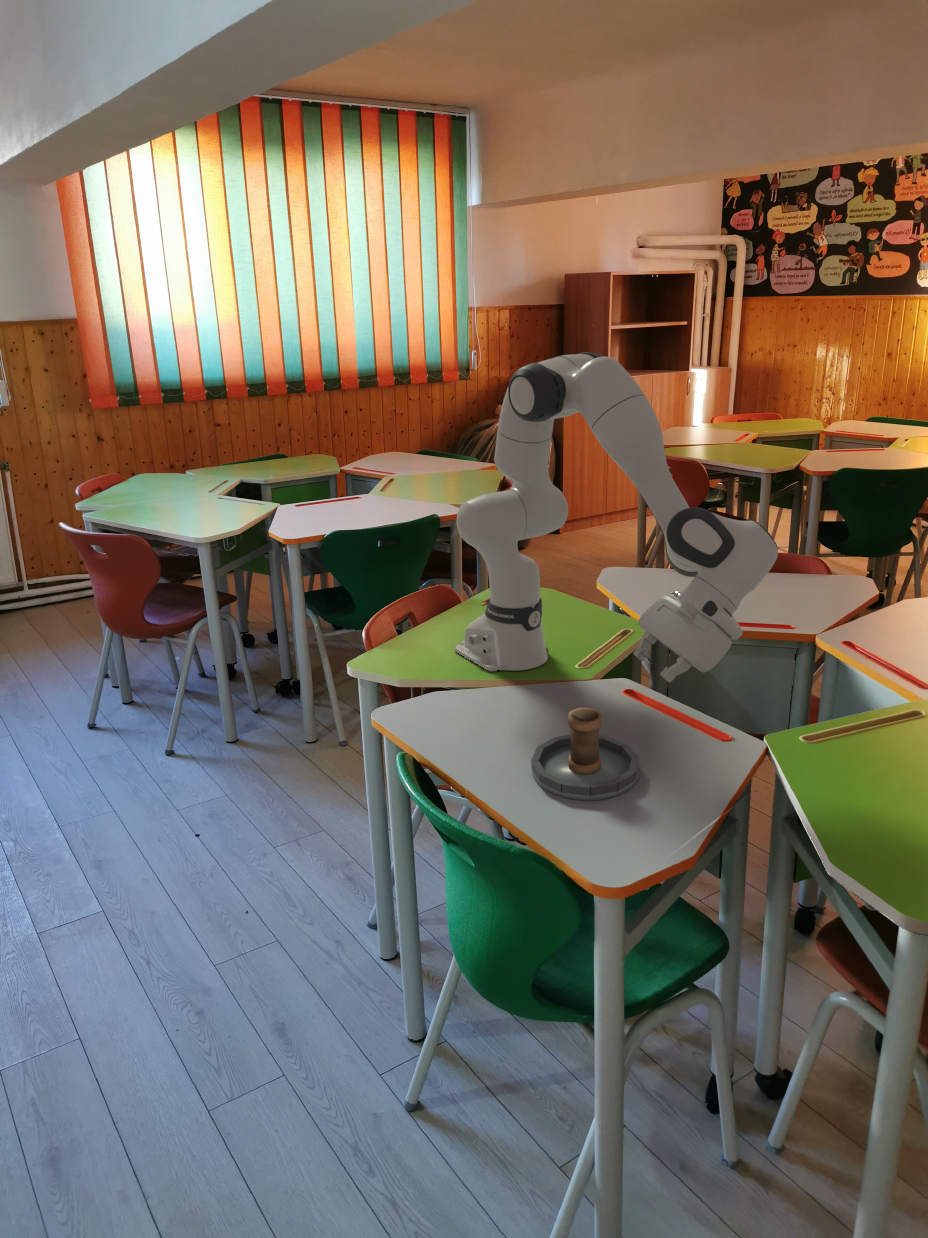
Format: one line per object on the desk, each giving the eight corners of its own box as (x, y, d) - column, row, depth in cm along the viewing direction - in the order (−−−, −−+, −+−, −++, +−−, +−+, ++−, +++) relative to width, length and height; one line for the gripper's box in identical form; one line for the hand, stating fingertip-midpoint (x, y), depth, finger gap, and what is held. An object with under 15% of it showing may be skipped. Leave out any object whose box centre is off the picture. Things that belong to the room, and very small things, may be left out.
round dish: (510, 773, 155) (510, 760, 154) (578, 735, 167) (578, 723, 166) (592, 813, 143) (593, 800, 142) (659, 770, 154) (660, 757, 153)
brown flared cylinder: (561, 767, 155) (561, 715, 151) (582, 755, 158) (582, 704, 155) (586, 778, 151) (587, 726, 147) (607, 766, 154) (608, 714, 151)
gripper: (662, 577, 159) (611, 636, 160) (726, 615, 140) (669, 681, 141) (683, 597, 161) (633, 655, 162) (749, 637, 143) (692, 702, 144)
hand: (650, 668), depth 152 cm, fingers open, 8 cm apart
